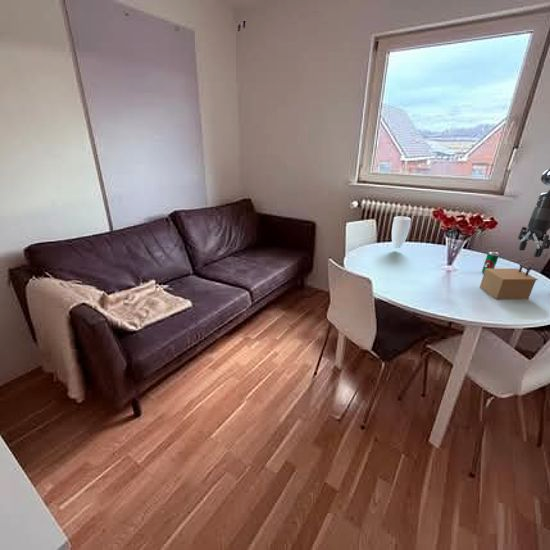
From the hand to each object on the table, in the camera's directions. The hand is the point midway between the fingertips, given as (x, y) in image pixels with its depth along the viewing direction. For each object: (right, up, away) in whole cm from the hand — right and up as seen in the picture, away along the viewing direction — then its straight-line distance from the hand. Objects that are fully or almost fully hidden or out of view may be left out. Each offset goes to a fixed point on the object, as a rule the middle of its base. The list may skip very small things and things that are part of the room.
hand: (528, 253), depth 138 cm
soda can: (+1, -9, +29) cm, 30 cm away
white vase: (-36, +5, +59) cm, 69 cm away
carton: (-6, -18, +8) cm, 21 cm away
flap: (-5, -9, +4) cm, 12 cm away
